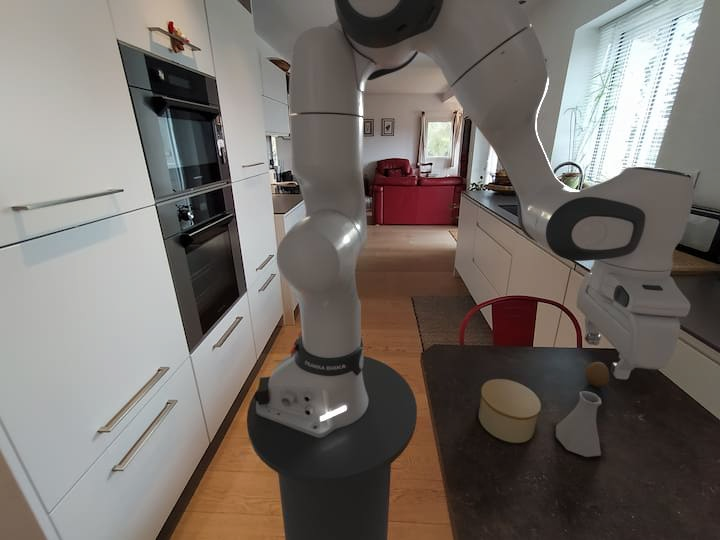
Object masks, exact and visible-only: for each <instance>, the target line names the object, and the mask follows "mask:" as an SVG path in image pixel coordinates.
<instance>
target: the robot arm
mask: <svg viewBox="0 0 720 540" xmlns="http://www.w3.org/2000/svg"><path fill="white" fill-rule="evenodd" d="M333 2H334V7H335V12H336V16H337V19H336V20H335V21H334V22H333V23H330V24H329V25H328V26H325V25H323V26H322V25H321V26H315V27H312V28H309V29H307V30H304V31H303V32H302V33H301V34H300V35H299V36H297V38H296V40H295V41H294V44H293V46H292V52H291V53H292V54H291V60H290V68H289V69H290V70H289V83H288V115H289V133H290V135H289V136H290V149H291V151H290V152H291V153H290V154H291V169H292V173H293V175H294V177H295V179H296V180H297V183H298V185H299V188H300V192H301V195H302V199H303V203H304V208H305V218H302V219H300V220H299V221H297V222H295V223H294V224H293V225H292V226H291V227H290V229H288V231H287V232H286V233H285V235H283V238H282V239H281V241H280V242H279V245H278V247H277V250H276V264H277V269H278V271H279V273H280V276H281V277H282V278H283V280H285V282H286V283H287V284H288V285H289V286H290V287H292V288H293V290H294V294H295V296H296V300H297V302H298V308H299V314H300V327H301V331H300V332H299V333H298V338H297V339H296V340H295V341H294V342H293V346H292V348H291V349H290V351H289V354H288V355H287V356H285V357H284V358H283V359H282V360H280V362H278V364H277V365H276V366H275V367H274V369H273V371H272V372H271V374H270V375H269V376H264V377H263V376H262V377H260V378H259V382H258V388H257V389H258V390H257V389H256V390H255V392H254V394H253V396H254V398H255V400H256V401H257V402H256V413H257V414H258V415H260V416H262V417H265V418H268V419H270V420H273V421H275V422H278V423H281V424H283V425H286V426H288V427H291V428H294V429H296V430H299V431H301V432H304V433H307V434H309V435H312V436H314V437H317V438H322V437H325V436H326V435H328V434H329V433H331V432H332V431H333V430H335V429H337V428H340V427H344V426H347V425H349V424H351V423H353V422H355V421H356V420H358V419H359V418H360V417H361V416H362V415H363V414H364V413H365V411H366V409H367V407H368V401H369V400H368V395H367V392H366V389H365V385H364V381H363V374H362V368H363V361H364V356H365V354H364V353H365V349H364V340H363V338H362V302H361V300H360V299H359V295H358V294H359V293H358V289H357V282H356V268H357V267H356V266H357V263H358V258H359V256H360V255H361V254H362V253H363V251H364V249H365V247H366V244H367V242H368V241H367V240H368V225H367V224H368V223H367V222H368V221H367V204H366V193H365V185H364V183H365V182H364V123H365V122H364V117H365V115H364V114H365V113H364V111H365V109H364V107H365V105H364V104H365V101H364V100H365V88H366V84H367V81H374V80H377V79H378V78H381V77H383V76H386V75H389V74H393V73H396V72H398V71H400V70H402V69H405V68H406V67H408V65H410V64H411V63H412V62H413V60H415V58H416V57H417V55H418V54H419V53H420V54H424V55H426V56H428V57H429V58H430V59H431V60H432V61H434V63H435V64H436V65H437V68H439V69H440V70H441V72H442V75H443V77H444V78H445V81H446V82H447V85H448V86H449V88H450V89H451V92H452V94H453V95H454V97H455V98H456V100H457V101H458V103H459V105H460V106H461V108H462V109H463V111H464V113H465V114H466V115H467V117H468V119H470V121H471V122H472V123H473V125H474V126H475V127H476V128H477V129H478V131H479V132H480V134H481V135H482V136H483V137H484V139H485V140H486V141H487V143H488V144H489V145H490V146H491V148H492V149H493V151H494V153H495V155H496V156H497V159H498V161H499V162H500V165H501V167H502V168H503V171H504V173H505V174H506V177H507V179H508V180H509V183H510V185H511V187H512V190H513V191H514V194H515V197H516V204H517V205H516V206H517V222H518V226H519V228H520V230H521V231H522V233H523V234H524V235H525V236H526V237H527V238H528V239H530V240H532V241H534V242H536V243H539V244H540V245H541V246H543V247H544V248H545V249H546V250H548V251H550V252H551V253H552V254H554V255H555V256H557V257H560V258H562V259H563V260H564V259H565V260H568V261H572V262H587V261H593V264H592V266H591V268H590V270H589V272H587V273H585V275H584V276H583V278H582V280H581V283H580V286H579V289H578V292H577V295H576V300H575V303H576V308H577V309H578V310H579V312H581V313H582V314H583V315H584V326H585V333H584V334H585V335H584V341H586V344H588V345H591V346H598V345H599V344H600V341H601V338H602V336H603V337H604V338H605V339H606V340H607V341H608V343H609V344H610V345H611V346H612V347H613V348H614V349H615V350H616V351H617V352H618V353H619V354H618V358H619V361H618V362H612V363H611V368H610V373H611V374H612V375H613V376H614V378H615V379H619V380H628V379H629V378H630V375H631V372H632V371H633V370H635V369H636V368H637V369H645V370H654V371H658V370H661V369H663V368H665V367H667V365H668V364H669V362H670V361H671V358H672V356H673V354H674V351H675V348H676V346H677V343H678V340H679V336H680V333H681V322H680V319H679V318H678V317H680V318H682V317H687V316H688V315H689V312H690V310H691V303H690V301H689V299H688V298H687V297H686V296H685V295H684V294H683V293H682V291H681V290H680V288H679V287H678V286H677V284H676V282H675V280H674V278H673V277H672V276H671V272H672V270H673V268H674V252H675V249H676V247H677V246H678V245H679V244H680V242H681V241H682V239H683V237H684V234H685V231H686V228H687V226H688V223H689V218H690V215H691V211H692V206H693V201H694V194H695V193H694V192H695V190H694V189H695V187H694V183H693V180H692V178H691V177H690V176H688V175H687V174H685V173H684V172H682V171H681V172H680V171H679V170H678V171H677V170H672V169H666V168H660V167H651V166H643V165H641V166H639V165H635V166H633V165H632V166H628V167H626V168H624V169H623V170H621V172H619V173H618V174H616V175H614V176H612V177H610V178H608V179H606V180H603V181H602V182H599V183H596V184H594V185H591V186H587V187H584V188H580V189H574V188H571V187H569V186H568V185H566V184H564V183H563V182H562V181H560V179H559V178H558V177H557V175H555V172H554V170H553V168H552V166H551V164H550V162H549V158H548V157H547V154H546V152H545V150H544V147H543V145H542V142H541V141H540V138H539V135H538V131H537V119H538V114H539V111H540V109H541V106H542V103H543V101H544V98H545V96H546V93H547V91H548V86H549V81H550V76H549V71H548V67H547V62H546V58H545V54H544V50H543V47H542V44H541V42H540V40H539V38H538V36H537V34H536V32H535V30H534V28H533V26H532V23H531V22H530V20H529V18H528V16H527V14H526V12H525V10H524V8H523V7H522V5H521V4H520V1H519V0H333ZM600 334H601V335H602V336H601V335H600ZM269 377H270V378H269ZM314 428H316V429H314Z"/></svg>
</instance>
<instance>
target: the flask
mask: <svg viewBox="0 0 720 540" xmlns="http://www.w3.org/2000/svg"><path fill="white" fill-rule="evenodd" d="M601 405H602V398H601V397H600V396H598V395H597V394H596V393H594V392H591V391H587V390H583V391H579V400H578V402H577V404H576V406H575V407H574V409H573V410H571V411H570V412H569V414H568V415H567V416H565V417H564V418H563V419H562V420H561V421H560V422H558V423H557V424H556V425H555V437H556V439H557V440H558V441H559V443H560V444H561V445H562V446H563V447H564V448H565V449H566V450H567V451H568V452H572V453H575V454H577V455H580V456H582V457H586V458H590V457H599V456H602V452H601V444H600V438H599V432H598V427H597V412H598V408H599V407H600V406H601Z"/></svg>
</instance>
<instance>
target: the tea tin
mask: <svg viewBox="0 0 720 540" xmlns="http://www.w3.org/2000/svg"><path fill="white" fill-rule="evenodd" d="M480 396H481V397H480V403H479V408H478V420H479V422H480V424H481V426H482V427H483V429H485V430H486V431H487V432H488V433H489V434H490V435H492V436H493V437H495V438H496V439H499V440H501V441H504V442H506V443H507V442H508V443H514V444H519V443H525V442H528V441H530V439H532V437H533V436H534V433H535V430H536V426H537V425H536V424H537V420H538V416H539V414H540V413H541V409H542V404H541V401H540V399H539V397H538V396H537V395H536V393H535V392H533V390H531V389H530V388H529V387H527V386H525V385H523V384H521V383H519V382H516V381H514V380H510V379H505V378H495V379H494V378H493V379H490V380H487V381H486V382H484V383H483V384H482V386H481V389H480Z"/></svg>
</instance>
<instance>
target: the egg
mask: <svg viewBox="0 0 720 540" xmlns="http://www.w3.org/2000/svg"><path fill="white" fill-rule="evenodd" d="M584 377H585V380H586V381H587V383H588V384H589V385H590V386H592V387H595V388H602V387H604V386H606V385H608V384H609V381H610V371H609V369H608V367H607V365H606V364H605V363H603V362H601V361H595V362H592V363H591V364H589V365H588V366H587V367H586V369H585V370H584Z"/></svg>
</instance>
